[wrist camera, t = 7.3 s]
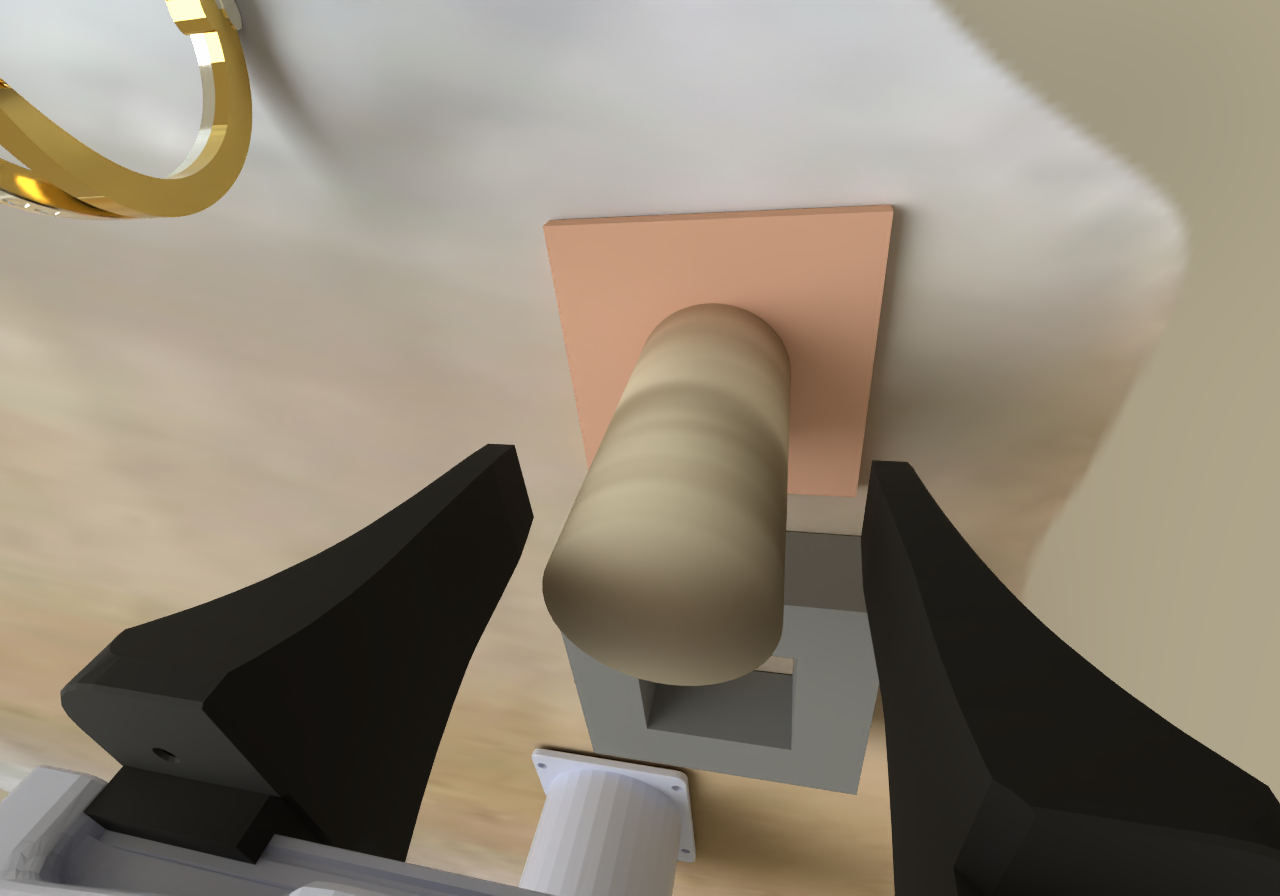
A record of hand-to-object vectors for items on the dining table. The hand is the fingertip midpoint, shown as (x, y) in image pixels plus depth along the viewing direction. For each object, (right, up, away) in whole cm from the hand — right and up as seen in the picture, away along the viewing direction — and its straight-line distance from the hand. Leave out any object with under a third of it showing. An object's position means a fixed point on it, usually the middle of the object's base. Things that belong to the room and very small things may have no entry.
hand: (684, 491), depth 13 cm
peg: (+1, +3, +4) cm, 5 cm away
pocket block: (+2, -6, +11) cm, 12 cm away
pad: (+1, +3, +4) cm, 5 cm away
